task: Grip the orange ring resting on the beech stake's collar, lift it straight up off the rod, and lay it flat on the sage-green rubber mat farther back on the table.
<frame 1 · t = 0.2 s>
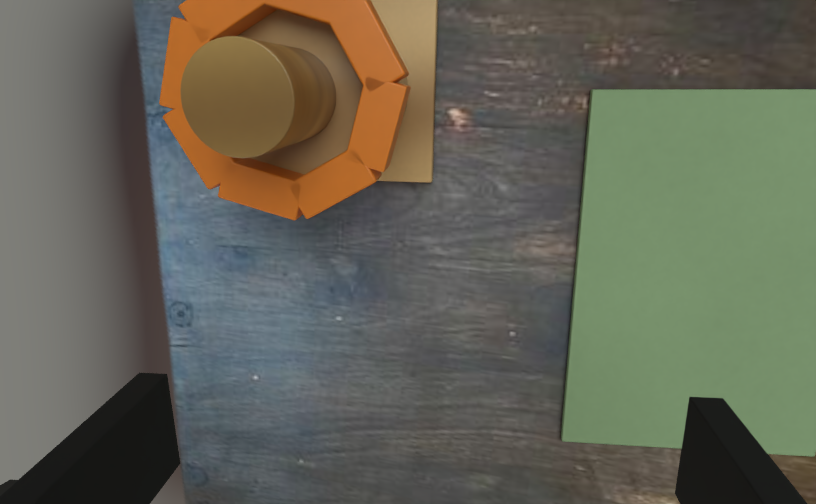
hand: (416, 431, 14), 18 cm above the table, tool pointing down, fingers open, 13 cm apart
stake: (349, 91, 30), on the table
ring: (285, 95, 19), point 11 cm above the table, touching stake
mat: (707, 283, 31), on the table
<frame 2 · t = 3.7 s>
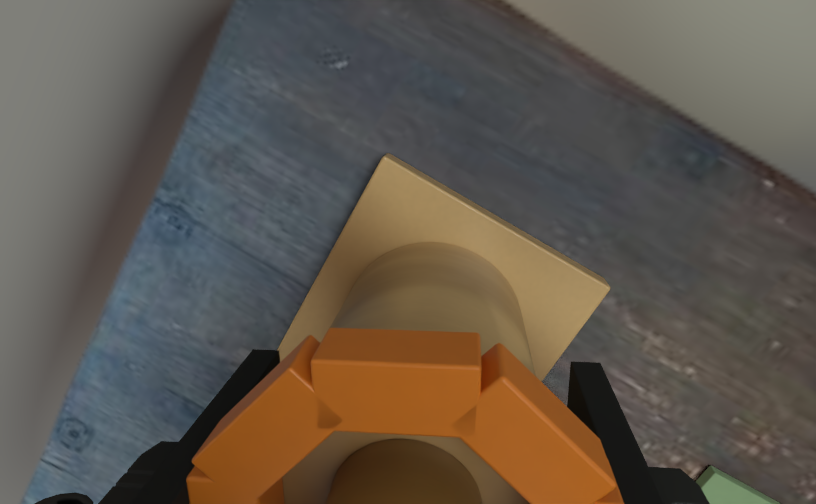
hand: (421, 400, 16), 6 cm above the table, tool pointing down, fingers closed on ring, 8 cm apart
stake: (433, 315, 21), on the table
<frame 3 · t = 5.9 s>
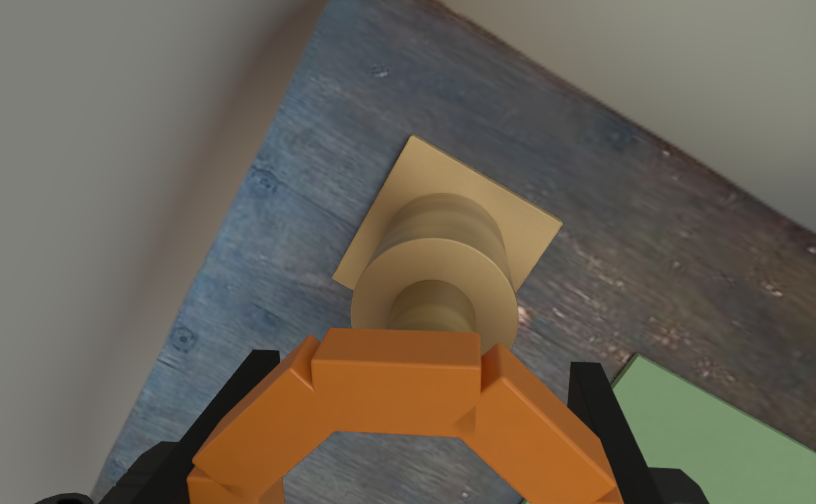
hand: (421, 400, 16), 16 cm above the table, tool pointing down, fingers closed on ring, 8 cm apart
stake: (444, 247, 31), on the table
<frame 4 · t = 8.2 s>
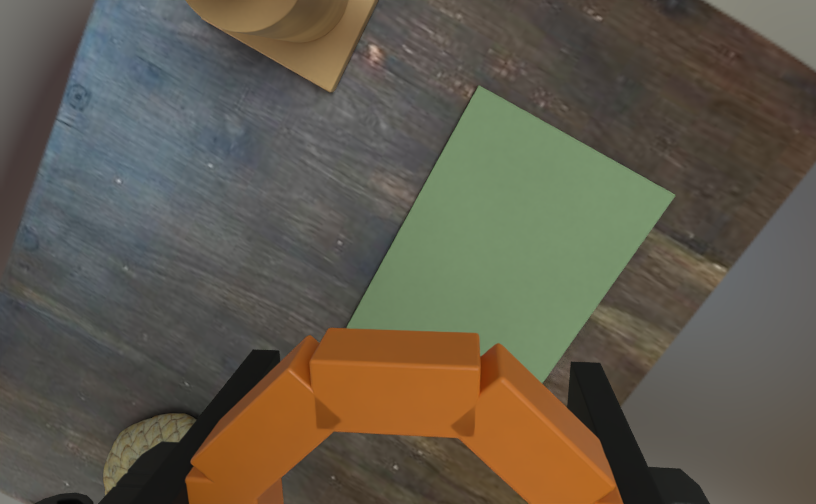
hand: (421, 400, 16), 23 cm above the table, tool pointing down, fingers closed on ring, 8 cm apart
mat: (494, 271, 38), on the table
acorn cap: (190, 464, 46), on the table
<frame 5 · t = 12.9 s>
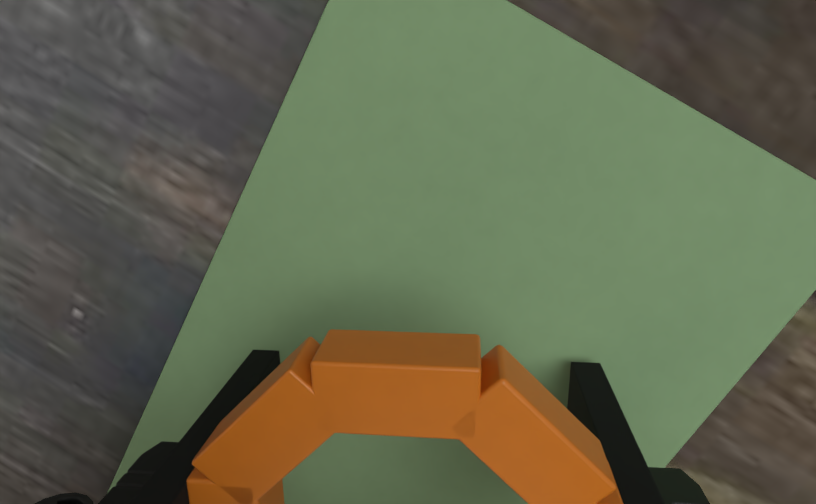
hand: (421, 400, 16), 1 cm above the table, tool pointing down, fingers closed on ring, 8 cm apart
mat: (423, 385, 17), on the table
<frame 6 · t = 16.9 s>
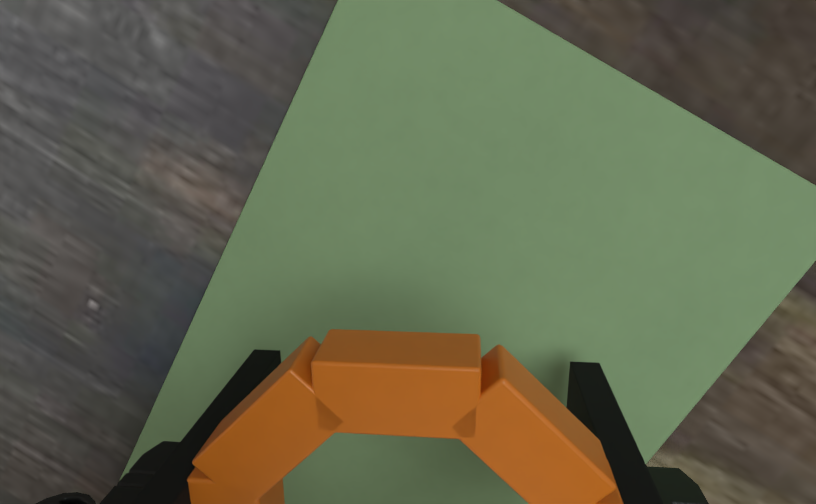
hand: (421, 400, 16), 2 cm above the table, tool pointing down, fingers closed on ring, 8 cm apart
mat: (425, 373, 17), on the table
when the fingers open (2 cm above the table, at t = 20.8 s): ring drops 6 cm, resting on mat.
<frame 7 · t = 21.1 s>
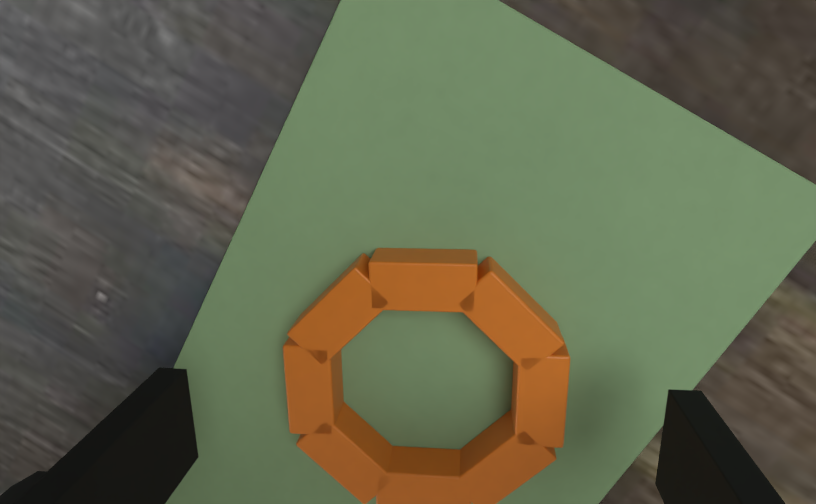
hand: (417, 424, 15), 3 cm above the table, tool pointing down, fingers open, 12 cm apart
ring: (424, 385, 17), point 1 cm above the table, touching mat
mat: (426, 363, 18), on the table
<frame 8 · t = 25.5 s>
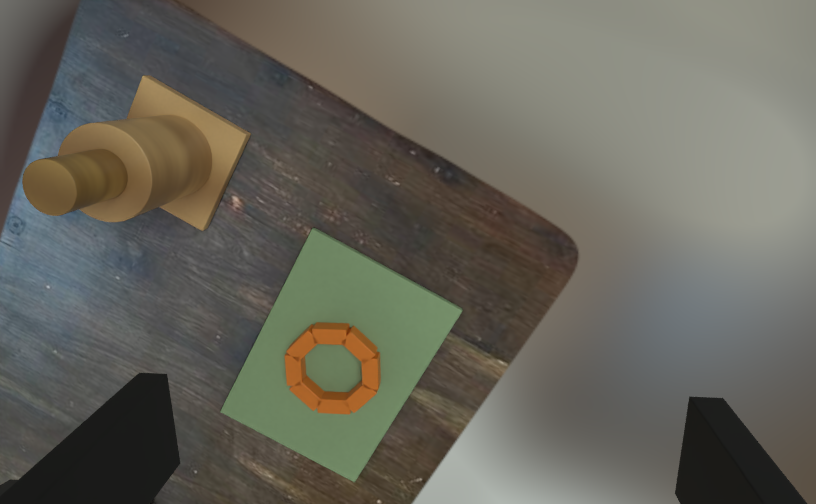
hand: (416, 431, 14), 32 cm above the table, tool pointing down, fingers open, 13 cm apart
stake: (179, 154, 46), on the table
ring: (333, 368, 49), point 1 cm above the table, touching mat
mat: (336, 361, 50), on the table
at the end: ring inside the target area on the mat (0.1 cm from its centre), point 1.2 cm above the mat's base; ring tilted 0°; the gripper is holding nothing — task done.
